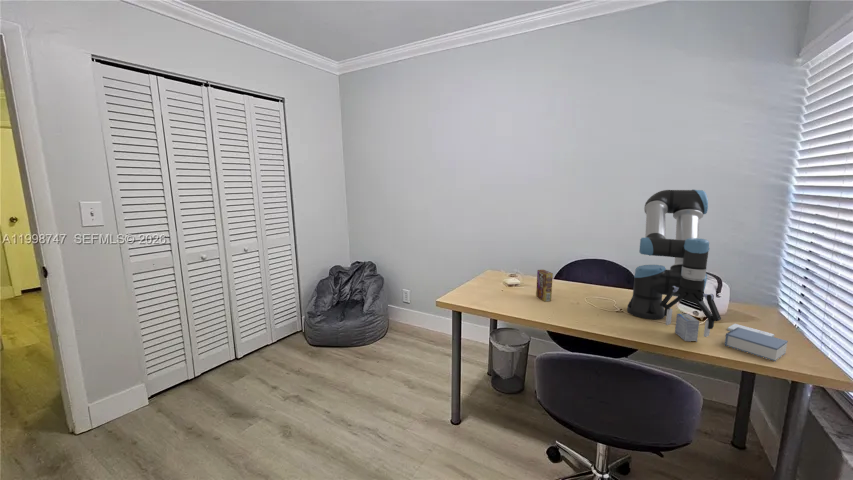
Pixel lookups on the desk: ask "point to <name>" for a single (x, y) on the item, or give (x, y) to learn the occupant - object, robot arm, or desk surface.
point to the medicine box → (687, 327)
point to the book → (756, 343)
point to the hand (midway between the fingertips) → (686, 329)
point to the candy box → (544, 285)
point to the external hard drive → (749, 329)
